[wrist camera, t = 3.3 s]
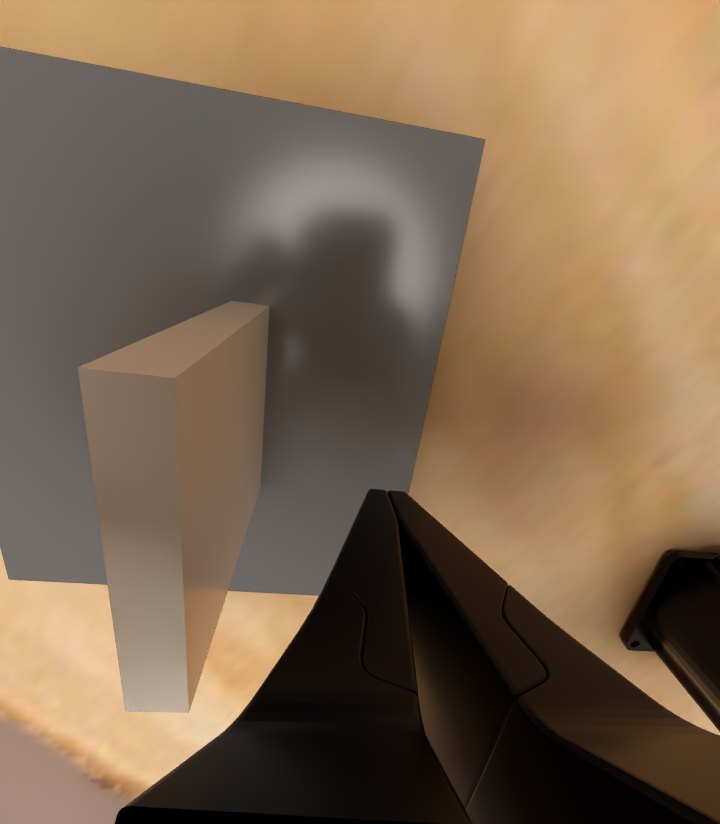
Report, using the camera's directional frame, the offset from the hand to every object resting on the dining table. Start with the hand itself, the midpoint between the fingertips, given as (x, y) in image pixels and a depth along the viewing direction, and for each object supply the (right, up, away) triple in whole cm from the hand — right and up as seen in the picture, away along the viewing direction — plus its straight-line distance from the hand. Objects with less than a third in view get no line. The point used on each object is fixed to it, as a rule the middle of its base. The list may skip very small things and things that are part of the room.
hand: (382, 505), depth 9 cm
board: (-6, +3, +5) cm, 9 cm away
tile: (-5, +3, +5) cm, 7 cm away
